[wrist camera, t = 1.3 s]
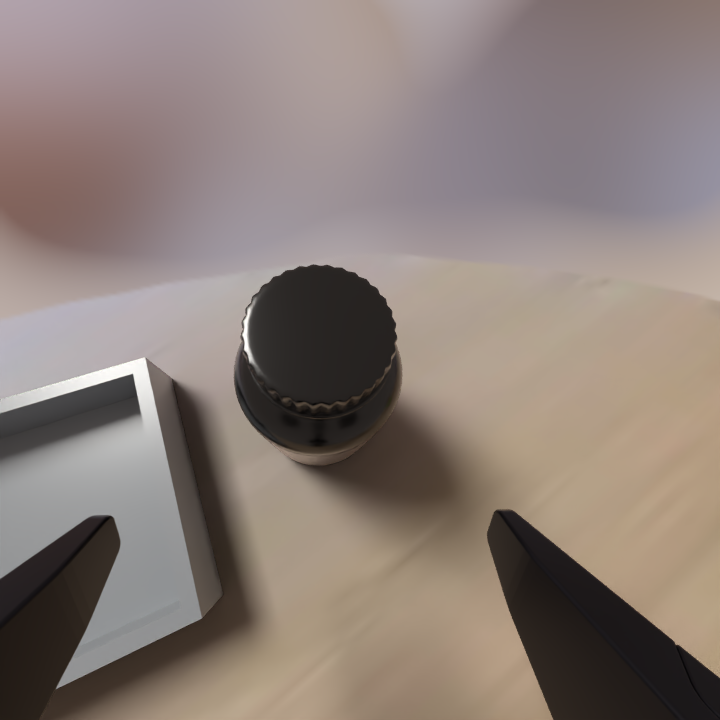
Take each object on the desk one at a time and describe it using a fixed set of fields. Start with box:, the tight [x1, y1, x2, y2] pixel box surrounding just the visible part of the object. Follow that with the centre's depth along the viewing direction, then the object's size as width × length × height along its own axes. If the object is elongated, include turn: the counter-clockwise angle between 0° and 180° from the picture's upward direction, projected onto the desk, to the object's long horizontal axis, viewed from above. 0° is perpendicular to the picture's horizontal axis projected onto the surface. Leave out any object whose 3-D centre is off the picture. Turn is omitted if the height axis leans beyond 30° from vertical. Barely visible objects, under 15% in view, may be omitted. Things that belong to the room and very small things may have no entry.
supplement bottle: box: [234, 264, 402, 466], centre depth 16 cm, size 7×7×12 cm
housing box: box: [0, 358, 223, 689], centre depth 16 cm, size 12×12×4 cm
